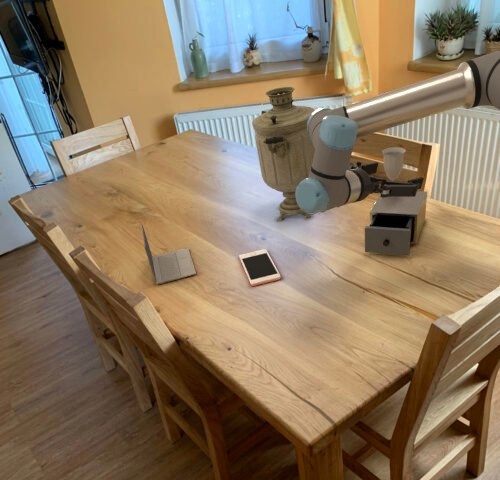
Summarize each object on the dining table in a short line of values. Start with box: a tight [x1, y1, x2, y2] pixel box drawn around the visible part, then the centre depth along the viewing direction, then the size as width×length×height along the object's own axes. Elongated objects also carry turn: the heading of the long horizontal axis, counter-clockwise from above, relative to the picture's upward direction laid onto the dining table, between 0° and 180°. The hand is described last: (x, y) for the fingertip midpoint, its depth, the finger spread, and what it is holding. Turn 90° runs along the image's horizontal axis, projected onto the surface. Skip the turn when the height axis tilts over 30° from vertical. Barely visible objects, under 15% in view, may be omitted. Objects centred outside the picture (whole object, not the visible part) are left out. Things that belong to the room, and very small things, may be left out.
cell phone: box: [238, 248, 282, 287], centre depth 148 cm, size 9×18×1 cm, turn 12°
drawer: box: [364, 215, 415, 257], centre depth 144 cm, size 16×12×8 cm
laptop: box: [140, 222, 197, 285], centre depth 153 cm, size 18×12×13 cm
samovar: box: [251, 86, 316, 222], centre depth 161 cm, size 30×26×40 cm
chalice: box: [381, 146, 406, 181], centre depth 163 cm, size 7×7×18 cm
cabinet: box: [369, 190, 428, 246], centre depth 151 cm, size 16×14×10 cm
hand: (398, 174), depth 128 cm, fingers open, 13 cm apart
